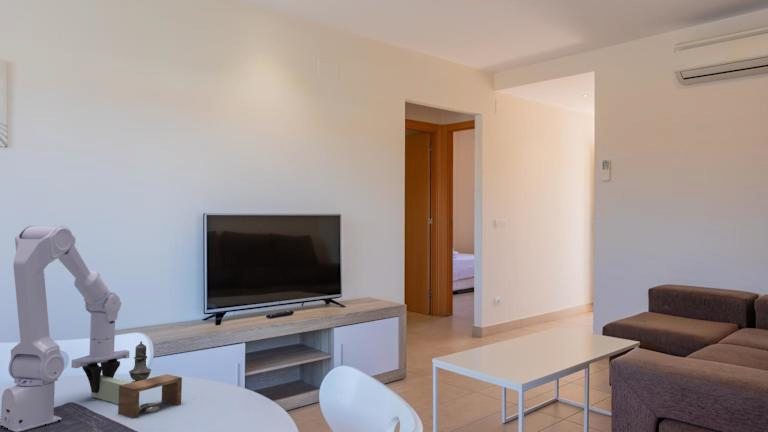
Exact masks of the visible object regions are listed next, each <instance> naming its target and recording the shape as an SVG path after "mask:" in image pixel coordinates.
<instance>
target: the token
mask: <svg viewBox="0 0 768 432" xmlns="http://www.w3.org/2000/svg"><path fill="white" fill-rule="evenodd" d="M160 407H161V406H160V403H158V402H147V403H143V404H141V405H140V404H139V413H140V414H144V415H146V414H147V415H149V414H155V413H158V412H159V411H160Z"/></svg>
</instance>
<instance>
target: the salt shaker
mask: <svg viewBox="0 0 768 432" xmlns="http://www.w3.org/2000/svg"><path fill="white" fill-rule="evenodd" d="M134 353H135V355H134V357H133V359H134V367H133V369H131V370H129V371H128V373H129V376H130V378H131V380H132V381H131V382H130V383H132V382H136V381H140V380H144V379H148V378H150V375H151V372H152V368H148V367H147V359H148V356H147V346H146V344H143V341H142V340H140V342H139V344H137V345H136V346H135V352H134Z"/></svg>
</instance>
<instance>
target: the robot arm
mask: <svg viewBox="0 0 768 432" xmlns="http://www.w3.org/2000/svg"><path fill="white" fill-rule="evenodd" d="M14 241H15V256H14V259H13V276H14V286H15V297H16V305H17V306H16V308H17V316H18V317H17V318H18V327H19V328H18V329H19V339H20V340H19V341H20V342H19V343H17V344H16V345H15V346H14V347H13V348H12V349H10V360H9V363H8V367H7V369H8V374H9V376H10V377H11V378H12V379H14V380H13V382H14V384H15V385H14V386H11V387H8V388H6V389H4V391H3V392H2V396H1V405H0V406H1V408H0V425H2V426H4V427H6V428H8V429H7V430H8V431H12V432H24V431H27V430H31V429H34V428H37V427H41V426H45V424H46V425H49V424H52V423H56V422H59V421H58V420H60V421H62V420H63V418H62V417H60V416H58V415H54V412H55V409H54V408H55V387H56V386H55V383H56V381H59V378H60V377H61V375H62V373H63V371H64V369H65V359H64V357H63V355H62V353H61V351H60V350H61V349H60V345H59V344H58V343H57V342H56V341H55V340H54V339H53V338H51V335H50V325H49V315H48V314H49V313H48V305H47V304H48V302H47V301H48V300H47V291H46V281H45V269H46V268H47V266H48V265H49V264H51V263H52V262H54V261H56V260H59V261H60V263H62V265H63V266H64V268H66V269H67V270H68V272H69V273H70V274H71V275H72V276H73V277H74V278H75V279H74V287H75V288H76V289H77V291H78V292H79V293H80V294H81V295H82V297H83V300H84V302H85V303H84V308H85V310H86V312H88V313H89V314H90V330H89V355H86V356H82V357H81V356H80V357H78V358H75V359H71V366H70V367H71V368H72V369H80V368H82V370H83V372H84V373H85V375H86V377H87V380H88V383H89V386H90V390H91V393H92V392H94V393H98V392H99V381H100V375H103V376H107V377H111V378H115V377H114V376H115V374H116V372H117V371H118V369H119V367H120V365H121V361H119V360H122V359H129V358H130V350H126V349H124V350H117V351H116V350H115V338H116V337H115V336H116V335H115V334H116V332H115V331H116V321H117V319H118V315H119V314H118V313H119V311H120V309H121V306H122V301H121V299H120V296H118V294H117V293H116V292H111V290H110V289H109V287H108V286H107V285H106V283H105V282H104V281H103V279H102V278H101V275H100V273H99V272H97V271H95V270H90V269H89V267H88V266H87V264H86V262H85V261H84V259H83V257H82V255H81V254H80V252H79V251H78V248H77V247H76V246H75V245H76V237H75V236H74V234H72V231H71V230H70V228H69V227H67V226H65V225H57V226H44V225H42V226H39V225H38V226H37V225H27V226H24V227H23V228H22V229H21V230H20V231H19V232H18V234H16V236H14ZM61 419H62V420H61ZM4 427H3V428H4ZM6 428H5V429H6Z"/></svg>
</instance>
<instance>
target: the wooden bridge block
mask: <svg viewBox="0 0 768 432" xmlns="http://www.w3.org/2000/svg"><path fill="white" fill-rule="evenodd" d="M135 381H136V380H135ZM131 382H132V383H131ZM131 382H130V383H128V384H124V385H119V402H118V404H117V407H118V408H117V414H118V415H120V416H124V417H128V418H131V419H136V418H137V419H138V418H139V413H140V392H143V391H148V390H150V389H154V388H159V387H161V402H162V403H166V404H171V405H175V406H180V405H182V392H183V391H182V385H183V383H182V382H183V377H182V376H177V375H172V374H167V373H166V374H162V375H157V376H154V377H153V376H152V377H148V378H147V379H144V380H140V381H136V382H133V381H131Z"/></svg>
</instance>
